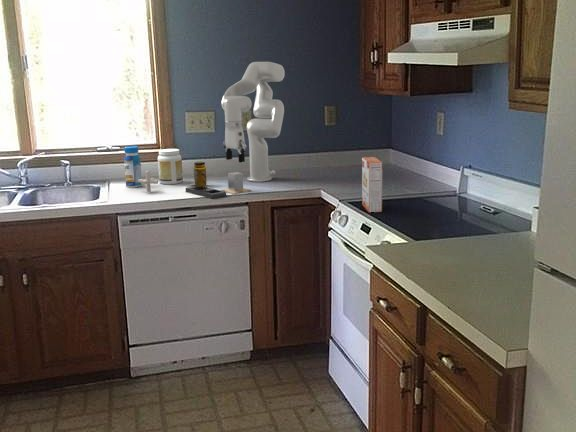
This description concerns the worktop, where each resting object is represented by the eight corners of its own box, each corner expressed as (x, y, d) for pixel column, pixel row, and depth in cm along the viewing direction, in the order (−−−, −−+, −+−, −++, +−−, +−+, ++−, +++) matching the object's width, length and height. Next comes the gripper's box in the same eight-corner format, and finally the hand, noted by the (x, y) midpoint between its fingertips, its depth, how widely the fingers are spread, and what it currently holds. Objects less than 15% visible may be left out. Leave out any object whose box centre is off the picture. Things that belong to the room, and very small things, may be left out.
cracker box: (361, 205, 279) (361, 156, 274) (375, 204, 280) (375, 156, 275) (367, 213, 266) (368, 162, 261) (382, 212, 266) (383, 161, 261)
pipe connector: (163, 190, 319) (161, 169, 317) (152, 194, 310) (151, 173, 308) (145, 189, 322) (143, 169, 320) (134, 193, 313) (132, 172, 311)
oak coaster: (237, 188, 320) (237, 186, 320) (250, 190, 313) (250, 189, 313) (221, 191, 314) (221, 189, 314) (233, 194, 307) (233, 192, 307)
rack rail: (199, 189, 319) (199, 185, 318) (226, 196, 303) (226, 191, 302) (185, 191, 314) (185, 187, 313) (212, 198, 298) (212, 194, 297)
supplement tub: (179, 179, 346) (177, 147, 342) (186, 183, 335) (184, 150, 331) (156, 181, 341) (154, 149, 337) (162, 185, 330) (160, 152, 326)
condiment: (209, 186, 327) (208, 162, 324) (194, 188, 323) (193, 164, 320) (203, 183, 333) (202, 160, 330) (188, 185, 329) (186, 162, 326)
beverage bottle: (143, 186, 328) (140, 147, 323) (126, 188, 326) (123, 148, 321) (141, 183, 336) (139, 145, 331) (125, 185, 333) (121, 146, 329)
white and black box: (236, 188, 317) (236, 172, 315) (243, 189, 313) (242, 173, 311) (228, 189, 314) (227, 173, 312) (234, 191, 310) (234, 174, 308)
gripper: (251, 125, 302) (253, 161, 307) (228, 122, 315) (230, 157, 320) (238, 127, 298) (240, 164, 302) (216, 124, 310) (218, 159, 315)
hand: (235, 160), depth 311 cm, fingers open, 9 cm apart
